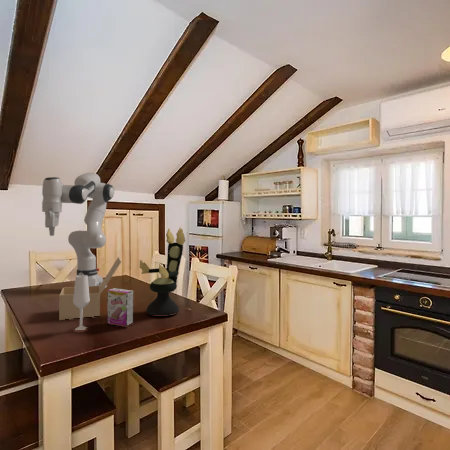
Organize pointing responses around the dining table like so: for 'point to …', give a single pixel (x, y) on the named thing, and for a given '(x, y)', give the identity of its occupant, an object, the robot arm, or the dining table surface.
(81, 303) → the champagne flute
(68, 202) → the robot arm
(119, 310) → the candy bar box
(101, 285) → the carton flap
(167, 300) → the black and tan chair
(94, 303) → the carton
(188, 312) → the dining table surface
